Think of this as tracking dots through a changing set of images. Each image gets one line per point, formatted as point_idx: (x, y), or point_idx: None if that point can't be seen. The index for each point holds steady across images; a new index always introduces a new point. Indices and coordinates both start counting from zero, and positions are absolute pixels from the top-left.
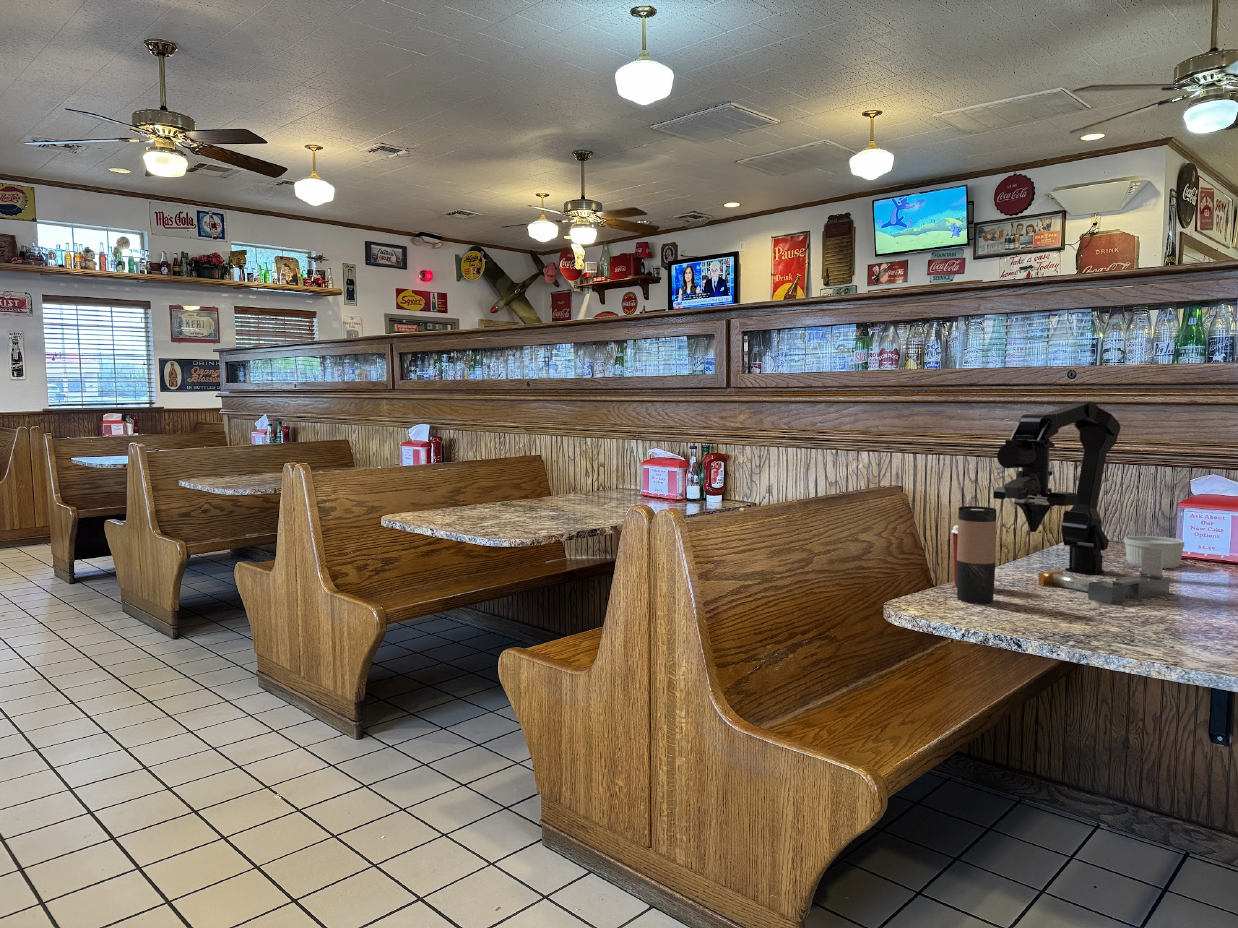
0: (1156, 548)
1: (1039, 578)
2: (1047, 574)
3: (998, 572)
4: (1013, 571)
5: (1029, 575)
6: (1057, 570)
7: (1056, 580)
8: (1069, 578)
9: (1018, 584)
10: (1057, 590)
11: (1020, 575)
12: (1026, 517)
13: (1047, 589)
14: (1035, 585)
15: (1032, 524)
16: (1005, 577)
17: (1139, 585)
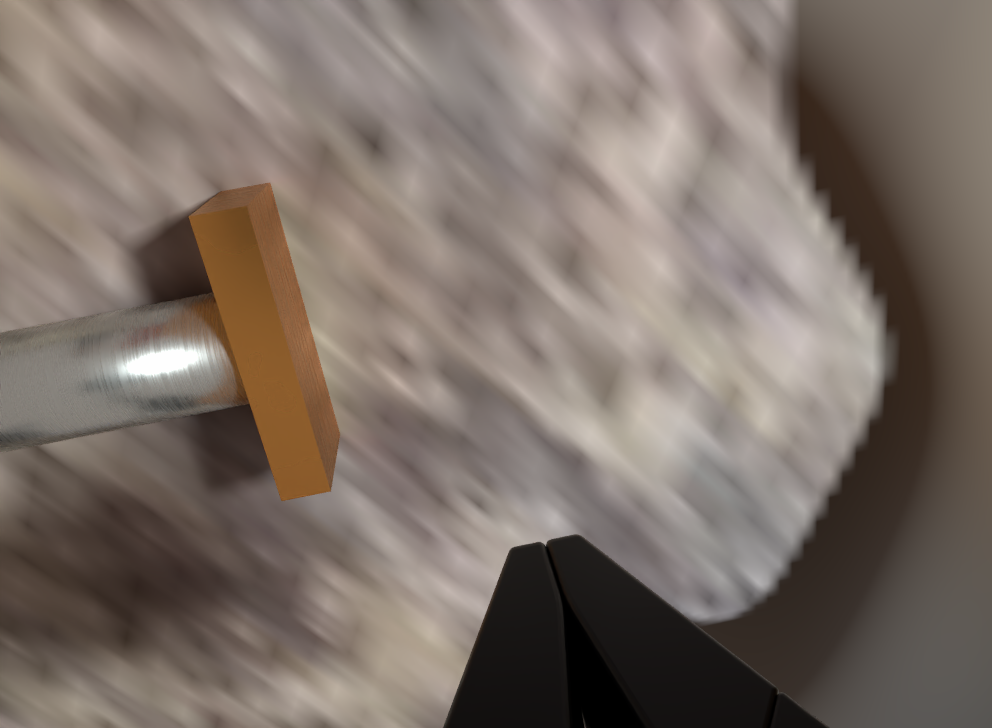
0: None
1: (249, 196)
2: (210, 274)
3: (839, 258)
4: (806, 408)
5: (635, 415)
6: (319, 474)
7: (158, 307)
8: (28, 365)
9: (353, 15)
10: (22, 177)
11: (665, 346)
12: (757, 709)
13: (79, 118)
14: (271, 148)
15: (531, 627)
16: (655, 151)
17: None
